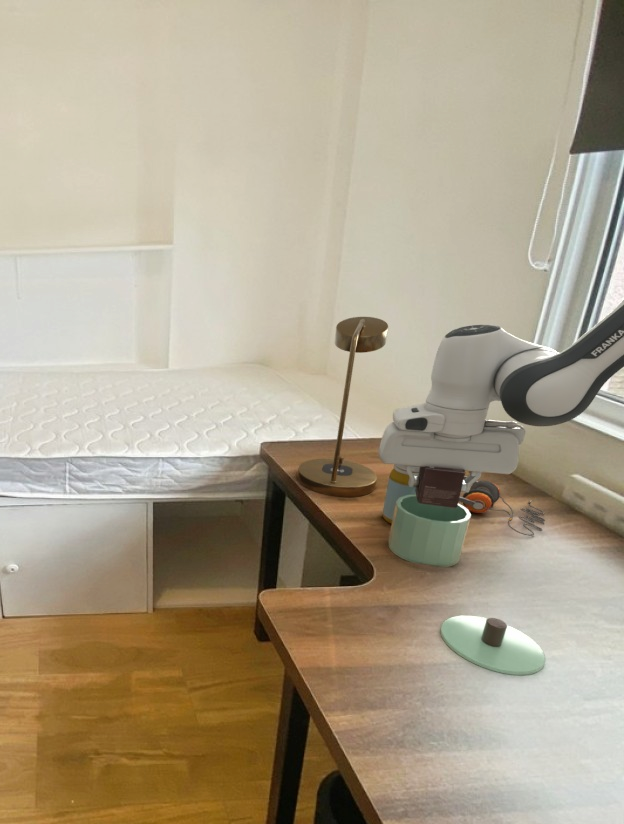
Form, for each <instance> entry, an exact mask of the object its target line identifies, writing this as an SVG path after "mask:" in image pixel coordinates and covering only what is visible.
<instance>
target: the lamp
mask: <svg viewBox="0 0 624 824" xmlns="http://www.w3.org/2000/svg"><path fill="white" fill-rule="evenodd" d="M388 331H389V324H388V323H387V322H386V321H385V320H383V319H381V318H377V317H373V316H353V317H349V318H346V319H343V320H341V321H339V322H338V323H337V325H336V327H335V336H334V345H335V346H336V348H337V349H339V350H342V351H344V352H348V353H349V355H348V361H347V368H346V369H347V370H346V375H345V383H344V389H343V395H342V403H341V410H340V416H339V424H338V429H337V435H336V444H335V449H334V458H315V459H310V460H306V461H304V462H302V463H300V464H299V465H298V468H297V475H296V478H297V481H298V482H299V483H300V484H301V485H302V486H303V487H305V488H307V489H309V490H311V491H313V492H316V493H318V494H323V495H327V496H331V497H340V498H341V497H343V498H344V497H345V498H355V497H361V496H366V495H370V494H371V493H373V492H374V491H375V490H376V486H377V481H378V480H377V479H378V476H377V474H376V472H375V471H373V470H372V469H371V468H369V467H367V466H366V465H363V464H360V463H357V462H353V461H350V460H344V456H342V455H341V448H342V443H343V437H344V436H343V435H344V429H345V423H346V416H347V409H348V403H349V396H350V390H351V384H352V382H351V381H352V376H353V371H354V370H353V369H354V364H355V358H356V353H358V354H359V353H360V354H362V353H371V352H374V351H378V350H380V349H382V348H383V347H384V346H385V345H386V343H387V337H388Z"/></svg>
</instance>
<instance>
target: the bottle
mask: <svg viewBox="0 0 624 824" xmlns="http://www.w3.org/2000/svg"><path fill="white" fill-rule="evenodd" d="M419 470H420V467H418V466H416V470H415V471H412V470H411V471H412V473H413V475H414V476H418V475H419ZM408 482H409V475H408V473H407V471H406V469H405V465H395V464H393V468H392V470H391V471H390V473H389V477H388V481H387V485H386V486H387V487H386V493H385V497H384V502H383V507H382V512H381V513H382V515H381V516H382V517H383V520H384V521H386V522H387V523H389V524H390V525H392V520H393V515H394V510H395V505H396V501H397V500H398V499H399V498H400V497H403V496H406V495H416V492H415V489H416V487H409V485H408Z"/></svg>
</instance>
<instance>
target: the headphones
mask: <svg viewBox="0 0 624 824" xmlns="http://www.w3.org/2000/svg"><path fill="white" fill-rule="evenodd" d="M466 477H467V476H466V475H465V476H464V479H465V478H466ZM499 498H500V499H501V500H502V502H503V503H504V504H505V505H506V506H508V508H509V509H510V511H511V513H510V512H509V511H508V510H505V509H494V508H492V507H493V506H494V504H495V503H496V502H497V501H498V500H499ZM458 503H462V506H464V507H465V508H467V509H468V510H469V512H472V513H474V514H475V513H476V514H482V513H485V512H487V511H496V512H505V513H507V514H508V515H509V518H508V520H507V526H508V527H509V528H510V529H512V530H513V531H515V532H517V533H519V534H521V535H524V536H527V537H533V536H535V533H534V531H532V530H531V529H530V528H529V527H531V528H534V529H536V530H539V531H543V528H542V527H540V526H538V525H535V524H534V523H536V522H538V523H540V524H545V521H546V519H544V518H543V517H541V516H540V515H545V511H543V510H541V509H540V508H538V507H535V506H533V505H531V504H532V499H530V501H528V502H527V505H528V506H529V507H530V508H528V507H526V508H522V507H521V508H520V511H522V512H523V513H525V514H528V515H524V516H521V515H520V516H518V519H519V520H521V521H522V522H524V523H522V526H523V527H524V528H525V529H526V530H528V531H529V532H530V533H531V534H527V533H524V532H520V531H519V530H517V529H515V528H514V527H512V526H511V524H510V522H511V521H512V520H513V518H514V515H515V513H514V510H513V509H512V507H511V505H510V504H508V502H506V501H505V499H504V498H503V496H501V489H500V488H499V486H498V485H497V484H495V483H494V482H491V481H489V480H479V481H478V480H477V481H475V482H474V483H473V484H472V485H471V486H470V490H469V492H468V493H467V492H463V495H462V496H460V497H459V502H458ZM531 508H532V509H531ZM533 509H535V510H533ZM536 510H537V511H536ZM538 511H539V512H538ZM529 515H530V516H529ZM527 526H529V527H527Z"/></svg>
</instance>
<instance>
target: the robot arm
mask: <svg viewBox="0 0 624 824" xmlns="http://www.w3.org/2000/svg"><path fill="white" fill-rule="evenodd" d="M623 368H624V298H622V300H621V301H620V302H619V304H618V305H617V306H616V307H615V308H614V309H613V310H611V311H610V312H609V313H608V314H606V315H605V316H604V317H603V318H602V319H601V320H600V321H598V322H597V323H595V325H593V326H592V327H591V328H590V329H589V330H587V331H586V332H585V333H584V334H582V335H581V336H580V337H579V338H578V339H577V340H575V341H574V342H573V343H572V344H571V345H569V346H568V347H567V348H565V349H564V350H562V351H556V350H555V349H553V348H551V347H548V346H544V345H540V344H538V343H537V344H536V343H533V342H530V341H527V340H524V339H521V338H519V337H517V336H515V335H513V334H511V333H509V332H508V331H506V330H504V329H503V328H502V326H500V325H495V324H473V325H466V326H460V327H458V328H454V329H452V330H451V331H449V332H448V333H446V334H445V336H443V337H442V340H441V341H440V343H439V345H438V348H437V351H436V354H435V357H434V361H433V365H432V370H431V374H430V381H431V388H430V391H429V392H428V394H427V395H426V399H425V402H423V403H418V404H414V405H408V406H403V407H399V408H395V409H394V410H393V412H392V422H391V423H389V424H388V425H387V426H386V428H385V429H384V431H383V434H382V435H381V440H380V443H379V447H378V457H379V459H380V461H381V463H383V464H385V465H394V464H395V465H405V469H406V471H407V473H408V475H409V482H408V485H409V487H417V488H419V484H420V477H419V476H414V475H413V473H412V471H415V470H416V466H418V467H425V466H430V467H440V468H452V469H463V470H465V472H466V471H467V472H468V473H469V474H468V475H467V476H466V478H465V479H464V480H463V485H462V489H461V493H465V492H467V493H468V492H469V490H470V488H471V486H472V485H473V483H474V482H475V481H478V480H479V479H480V478H481V477H482V474H483V473H491V474H502V475H510V474H511V473H512V474H513V472H515V471H516V470H517V467H518V463H519V456H520V445H521V444H522V443H524V440H525V436H526V429H525V427H524V426H523V425H527V426H532V427H552V426H557V425H561V424H564V423H567V422H571V420H574V419H575V418H577V417H578V416H580V415H581V414H583V413H584V412H585V411H586V410H587V409H588V407H589V406H590V405H591V404H592V402H593V401H594V399H595V398H596V397H597V395H598V393H599V392H600V390H601V389H602V388H603V386H604V385H605V384H606V383H607V382H608V381H609V380H610V379H611V378H612V377H613V376H614V375H616V374H617V373H618V372H619V371H621V370H622V369H623ZM495 401H497V402H501V406H502V408H503V410H504V412H505V413H506V414H507V415H508V416H509V417H510V418H511V419H513V420H514V421H512V420H506V421H503V420H492V419H487V415H488V412H489V407H490V404H491V403H492V402H495ZM518 423H520V424H518ZM521 424H523V425H521ZM411 470H412V471H411Z"/></svg>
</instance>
